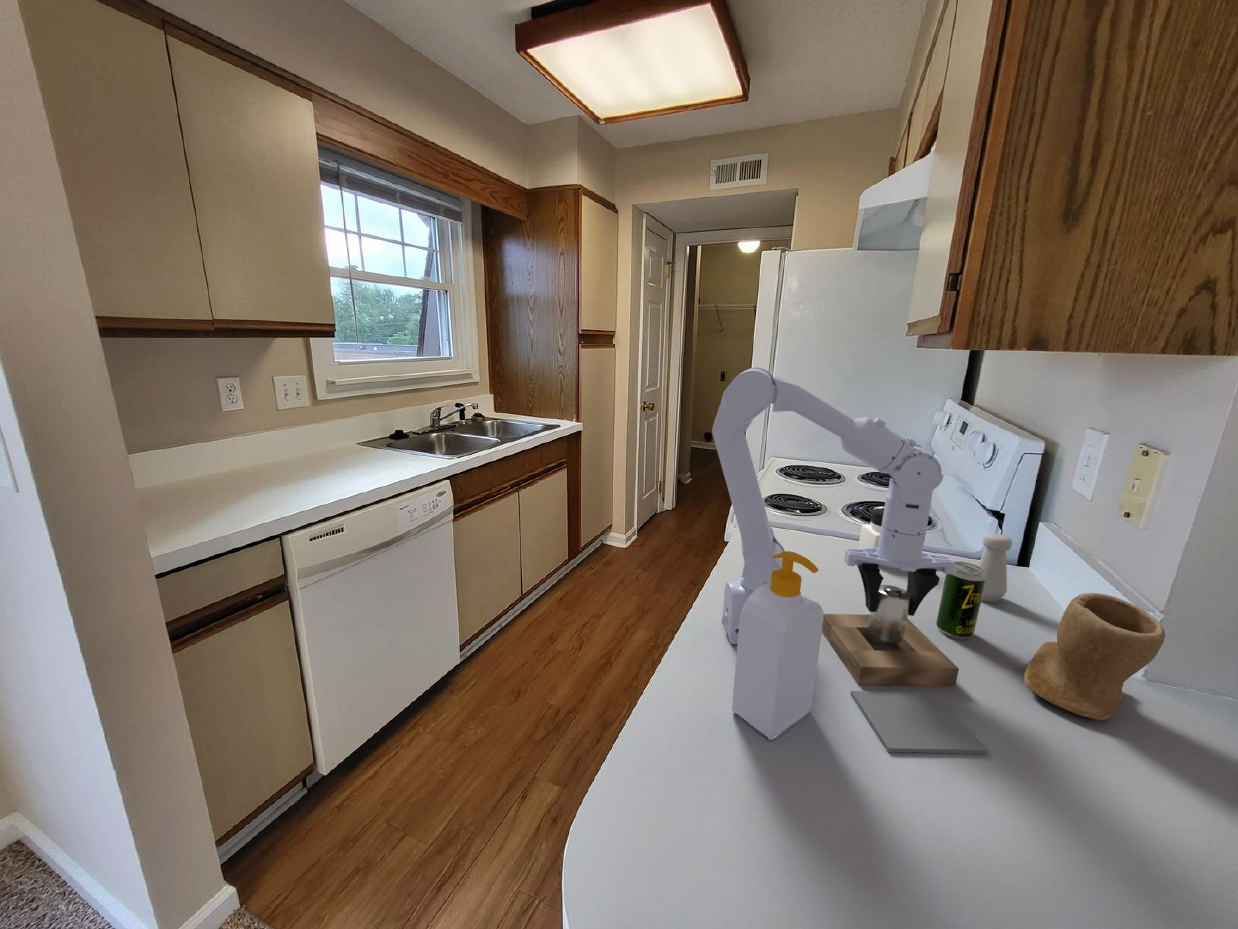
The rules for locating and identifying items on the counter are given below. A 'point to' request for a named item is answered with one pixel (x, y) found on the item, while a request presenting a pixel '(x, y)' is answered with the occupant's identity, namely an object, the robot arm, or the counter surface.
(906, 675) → the bore block
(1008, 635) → the counter surface
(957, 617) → the green soda can
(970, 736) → the rubber mat
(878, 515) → the medicine bottle
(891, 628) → the grey round-capped cylinder
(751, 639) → the soap bottle
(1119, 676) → the tan boot
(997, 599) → the salt shaker
